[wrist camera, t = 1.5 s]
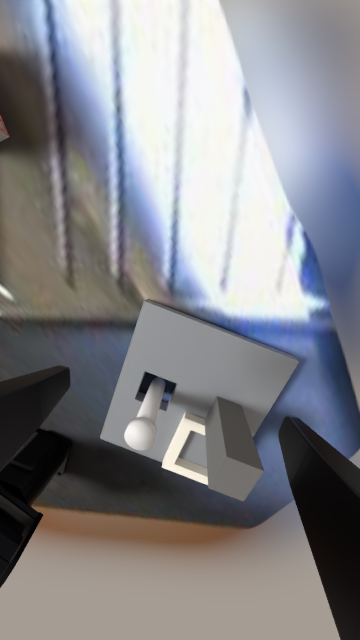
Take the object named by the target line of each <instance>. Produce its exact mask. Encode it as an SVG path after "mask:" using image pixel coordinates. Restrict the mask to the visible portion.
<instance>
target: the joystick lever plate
mask: <svg viewBox="0 0 360 640" xmlns="http://www.w3.org/2000/svg"><path fill="white" fill-rule="evenodd" d="M191 430H192V431H195V432H197V433H200V434H202V435H205V438H206V456H207V468H205V467H202V466H200V465H197V464H194V463H192V462H189V461H187V460H184V459H181V458H179V457H178V455H179V453H180V451H181V449H182V447H183V445H184V443H185V441H186V439H187V437H188V435H189V433H190V431H191ZM162 468H165V469H167V470H170V471H172V472H175V473H177V474H180V475H183V476H185V477H188V478H190V479H193V480H196V481H198V482H201V483H203V484H206V485H208V488H210V489H212V490H215V491H218V492H220V493H223V494H225V495H228V496H230V497H233V498H236V499H238V500H241V501H243V502H244V500H245V499H246V497H247V496H248V494H249V493H250V491H251V490H252V488H253V487H254V485H255V484H256V482H257V481H258V479H259V478H260V477H261V475H262V474H263V472H264V469H263V466H262V463H261V460H260V458H259V455H258V452H257V449H256V446H255V443H254V440H253V437H252V434H251V432H250V429H249V426H248V423H247V420H246V417H245V414H244V411H243V408H242V406H241V405H239V404H236V403H233V402H231V401H228V400H226V399H223V398H221V397H218V396H216V398H215V400H214V402H213V404H212V406H211V408H210V410H209V412H208V414H207V416H206V418H205V419H203V418H201V417H198V416H195V415H193V414H190V413H188V412H185V413H184V415H183V418H182V420H181V422H180V424H179V426H178V428H177V431H176V433H175V435H174V437H173V439H172V441H171V443H170V446H169V448H168V450H167V452H166V454H165V456H164V459H163V463H162Z"/></svg>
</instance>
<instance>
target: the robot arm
mask: <svg viewBox="0 0 360 640" xmlns="http://www.w3.org/2000/svg"><path fill="white" fill-rule="evenodd" d="M69 387H70V369H69V368H68V367H65V366H55V367H51V368H48V369H44V370H41V371H37V372H34V373H30V374H26V375H23V376H19V377H16V378H12V379H9V380H5V381H1V382H0V587H1V586H2V585H3V584H4V582H5V581H6V579H7V578H8V576H9V574H10V573H11V572H12V570H13V568H14V567H15V565H16V563H17V562H18V560H19V558H20V556H21V554H22V552H23V551H24V549H25V547H26V545H27V544H28V542H29V540H30V538H31V536H32V535H33V533H34V531H35V529H36V527H37V525H38V524H39V522H40V520H41V518H42V517H43V514H42V513H40V512H39V513H38V512H37V511H36V510H34V509H33V508H32V505H33V504H34V502H35V501H36V500H37V498H38V497H39V495H40V494H41V493H42V491H43V490H44V488H45V487H46V486H47V484H48V483H49V482H50V480H51V479H52V477H53V476H54V475H57V476H62V475H63V474H64V472H65V468H66V465H67V461H68V457H69V454H70V450H71V447H72V444H71V442H69V441H66V440H64V439H61V438H58V437H56V436H53V435H51V434H48V433H45V432H43V431H40V430H38V428H39V427H40V426H41V424H42V423H43V422H44V421H45V419H46V418H47V417H48V416H49V414H50V413H51V412H52V410H53V409H54V408H55V406H56V405H57V404H58V402H59V401H60V400H61V398H62V397H63V396H64V394H65V393H66V392H67V390H68V389H69ZM278 436H279V442H280V446H281V450H282V454H283V459H284V463H285V467H286V471H287V476H288V479H289V483H290V487H291V490H292V493H293V496H294V499H295V502H296V505H297V508H298V511H299V515H300V517H301V520H302V524H303V526H304V530H305V533H306V536H307V539H308V542H309V545H310V548H311V551H312V554H313V557H314V560H315V563H316V566H317V569H318V572H319V575H320V578H321V581H322V585H323V587H324V591H325V593H326V597H327V600H328V603H329V606H330V609H331V612H332V615H333V618H334V621H335V624H336V627H337V630H338V633H339V636H340V639H341V640H360V469H359V468H358V467H357V466H355V465H354V464H353V463H352V462H351V461H349V460H348V459H347V458H346V457H345V456H343V455H342V454H341V453H340V452H339V451H337V450H336V449H335V448H334V447H333V446H331V445H330V444H329V443H328V442H327V441H325V440H324V439H323V438H322V437H321V436H319V435H318V434H317V433H316V432H315V431H313V430H312V429H311V428H310V427H308V426H307V425H306V424H305V423H304V422H302V421H301V420H300V419H299V418H297V417H292V416H285V418H284V420H283V422H282V425H281V427H280V429H279V433H278ZM23 445H24V447H23V448H22V449H21V450H20V451H19V452H18V453H17V451H18V450H19V449H20V448H21V447H22V446H23ZM16 453H17V454H16ZM15 454H16V455H15ZM14 455H15V456H14ZM13 456H14V457H13ZM12 457H13V458H12ZM11 458H12V459H11ZM10 459H11V460H10ZM9 460H10V461H9Z"/></svg>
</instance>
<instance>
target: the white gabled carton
mask: <svg viewBox="0 0 360 640" xmlns="http://www.w3.org/2000/svg"><path fill="white" fill-rule="evenodd" d="M7 138H9V134H8V132H7V129H6V127H5V124H4V122H3V120H2V117H1V115H0V142H1V141H3V140H5V139H7Z"/></svg>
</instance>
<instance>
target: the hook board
mask: <svg viewBox="0 0 360 640" xmlns="http://www.w3.org/2000/svg"><path fill="white" fill-rule="evenodd" d="M299 362H300V361H298V360H297V359H296V358H295V357H294V356H292V355H290V354H288V353H285V352H282V351H280V350H277V349H275V348H272V347H270V346H267V345H264V344H262V343H259V342H257V341H254V340H252V339H249V338H246V337H244V336H241V335H239V334H236V333H234V332H231V331H228V330H226V329H223V328H221V327H218V326H216V325H213V324H210V323H208V322H205V321H203V320H200V319H198V318H195V317H192V316H190V315H187V314H185V313H182V312H180V311H177V310H174V309H172V308H169V307H167V306H164V305H162V304H159V303H156V302H154V301H151V300H149V299H147V300H145V301H144V303H143V306H142V309H141V312H140V315H139V319H138V322H137V325H136V328H135V331H134V334H133V337H132V340H131V343H130V346H129V349H128V352H127V356H126V359H125V362H124V365H123V368H122V371H121V374H120V377H119V380H118V383H117V386H116V389H115V393H114V396H113V399H112V402H111V405H110V408H109V411H108V414H107V417H106V420H105V423H104V427H103V430H102V433H101V436H100V439H103V440H105V441H108V442H110V443H113V444H115V445H118V446H121V447H123V448H126V449H128V450H131V451H134V452H136V453H139V454H141V455H144V456H147V457H149V458H152V459H154V460H157V461H159V462H162V463H163V459H164V456H165V454H166V452H167V450H168V448H169V446H170V443H171V441H172V439H173V437H174V435H175V433H176V431H177V428H178V426H179V424H180V422H181V420H182V418H183V415H184V413H185V412H188V413H190V414H193V415H195V416H198V417H201V418H203V419H205V418H206V416H207V414H208V412H209V410H210V408H211V406H212V404H213V402H214V400H215V398H216V396H218V397H221V398H223V399H226V400H228V401H231V402H233V403H236V404H239V405H241V406H242V408H243V411H244V414H245V417H246V420H247V423H248V426H249V429H250V432H251V434H252V437H253V436H254V435H255V433H256V431H257V430H258V428H259V427H260V425H261V423H262V422H263V420H264V418H265V417H266V415H267V414H268V412H269V410H270V409H271V407H272V405H273V404H274V402H275V401H276V399H277V397H278V396H279V394H280V392H281V391H282V389H283V388H284V386H285V384H286V383H287V381H288V379H289V378H290V376H291V375H292V373H293V371H294V370H295V368H296V366H297V365H298V363H299ZM145 372H148V373H151V374H154V375H156V376H159V377H161V378H164V379H166V380H169V381H172V382H174V383H176V386H175V388H174V390H173V393H172V395H171V397H170V400H169V402H168V403H167V402H165V401H162V397H163V393H164V390H165V386H166V383H165V381H164V380H163V379H161V378H154V379H153V380H152V382H151V384H150V387H149V389H148V391H147V394H144V393H141V392H139V389H140V386H141V383H142V381H143V378H144V375H145ZM178 457H179V458H181V459H184V460H187V461H189V462H192V463H194V464H197V465H200V466H202V467H205V468H207V456H206V438H205V435H202V434H200V433H197V432H195V431H192V430H191V431H190V433H189V435H188V437H187V439H186V441H185V443H184V445H183V447H182V449H181V451H180V453H179V455H178Z"/></svg>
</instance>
